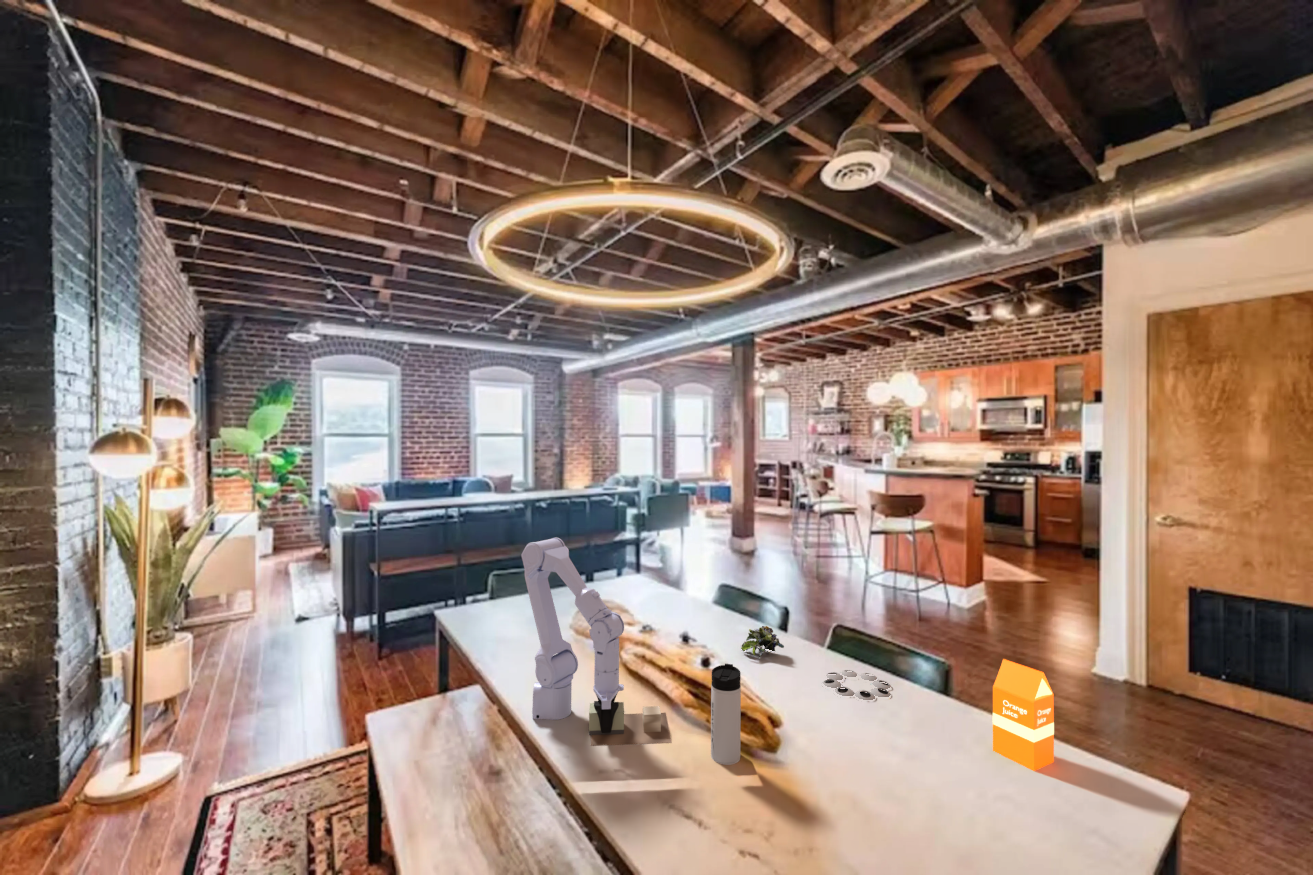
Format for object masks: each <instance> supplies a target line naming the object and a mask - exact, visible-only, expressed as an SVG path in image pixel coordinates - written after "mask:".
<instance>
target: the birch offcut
mask: <svg viewBox="0 0 1313 875" xmlns="http://www.w3.org/2000/svg"><path fill="white" fill-rule="evenodd" d="M642 713H643V731H644V732H661V713H662V712H661V707H660V706H659V705H656V706H655V705H653V706H642Z"/></svg>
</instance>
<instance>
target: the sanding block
mask: <svg viewBox="0 0 1313 875" xmlns="http://www.w3.org/2000/svg"><path fill="white" fill-rule="evenodd" d="M618 702H619V706H618V709H617V710H616V713H615V715H614V719H613V725H612V730H611V733H602V732H601V728H600V722H599V717H598V714H597V712H596V710H595V708H594V702H589V710H588V711H589V712H588V718H589V719H588V735H589V736H591V735H608V734H624V714H625V707H624V706H625V704H624V701H618Z"/></svg>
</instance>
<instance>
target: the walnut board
mask: <svg viewBox="0 0 1313 875" xmlns="http://www.w3.org/2000/svg"><path fill="white" fill-rule="evenodd" d="M590 736H591V737H590V746H591V747H592V746H593V747H596V746H598V747H599V746H601V747H602V746H623V745H625V746H626V745H629V746H630V745H654V744H672V738H671V733H670V727H669V722H668V718H667V713H666V712H661V732H644V731H643V712H640V713H624V734H608V735H590Z"/></svg>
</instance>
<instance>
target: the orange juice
mask: <svg viewBox="0 0 1313 875" xmlns="http://www.w3.org/2000/svg"><path fill="white" fill-rule="evenodd" d="M1054 697H1055V695H1054V692H1053V690H1052V688H1051V686H1050V684H1049V681H1048V679H1047V677H1046V674H1045V673H1044V671H1041V670H1038V669H1036V668H1032V667H1029V666H1027V665H1023V664H1020V663H1017V662H1014V661H1011V660H1008V659H1006V658H1002V661H1001V665H1000V667H999V670H998V673H997V675H996V678H995V680H994V682H993V685H992V752H994V751H995V753H996V752H997V753H996V754H998V753H999V754H998V755H1000V754H1001V756H1002V757H1005V758H1007V759H1009V760H1010V761H1012V762H1014V763H1017V764H1019V765H1021V766H1023V767H1024V768H1027V769H1029V770H1031V771H1033V772H1036V771H1038V770H1040V769H1041V768H1045V767H1046V766H1048V765H1051V764H1052V763H1053V764H1054V762H1055V757H1054V756H1055V750H1054V749H1055V748H1054V747H1055V744H1054V743H1055V736H1054V735H1055V722H1054V721H1055V718H1054V717H1055V713H1054V711H1055V709H1054V708H1055V706H1054V705H1055V704H1054V703H1055V702H1054Z"/></svg>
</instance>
